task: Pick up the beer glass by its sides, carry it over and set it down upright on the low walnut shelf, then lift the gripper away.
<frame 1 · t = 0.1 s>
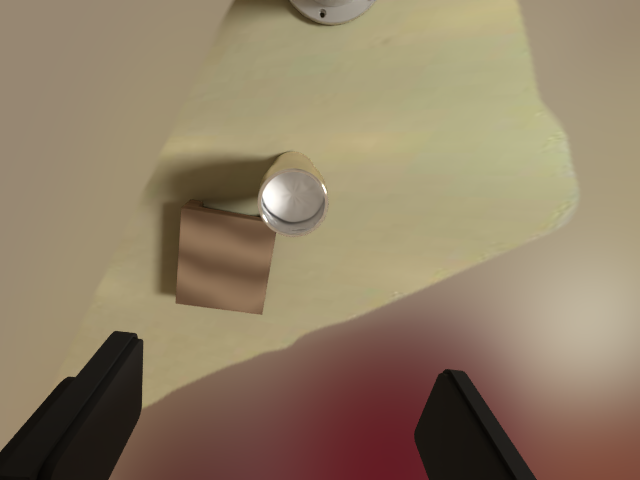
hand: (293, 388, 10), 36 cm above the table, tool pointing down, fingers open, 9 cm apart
walnut shelf: (230, 253, 47), on the table
beer glass: (293, 174, 44), on the table
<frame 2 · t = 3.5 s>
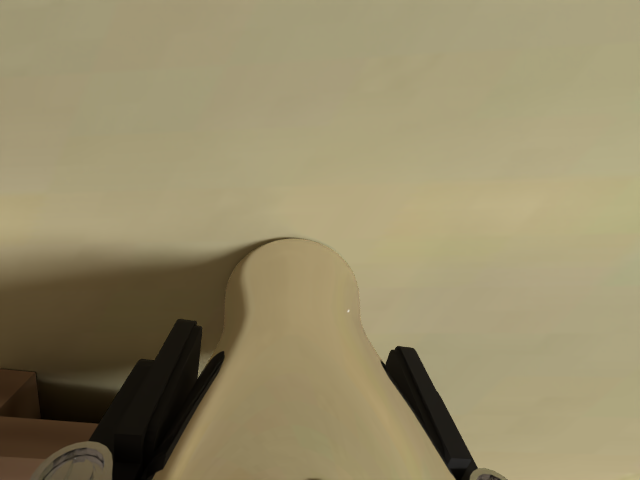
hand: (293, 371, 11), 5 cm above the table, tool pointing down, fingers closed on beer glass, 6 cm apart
walnut shelf: (131, 475, 19), on the table
beer glass: (293, 295, 15), on the table, touching gripper
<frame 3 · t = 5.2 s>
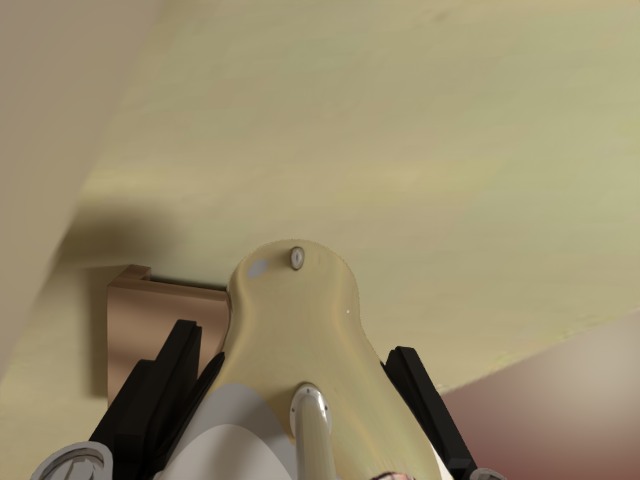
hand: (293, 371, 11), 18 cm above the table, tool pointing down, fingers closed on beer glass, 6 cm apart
walnut shelf: (195, 339, 31), on the table
beer glass: (293, 296, 15), point 14 cm above the table, touching gripper
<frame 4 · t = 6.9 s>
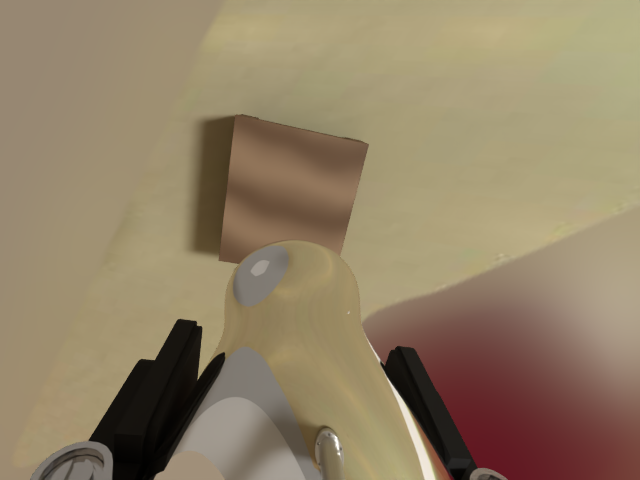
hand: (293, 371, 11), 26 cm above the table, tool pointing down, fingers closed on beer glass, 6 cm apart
walnut shelf: (290, 195, 35), on the table
beer glass: (293, 296, 15), point 21 cm above the table, touching gripper
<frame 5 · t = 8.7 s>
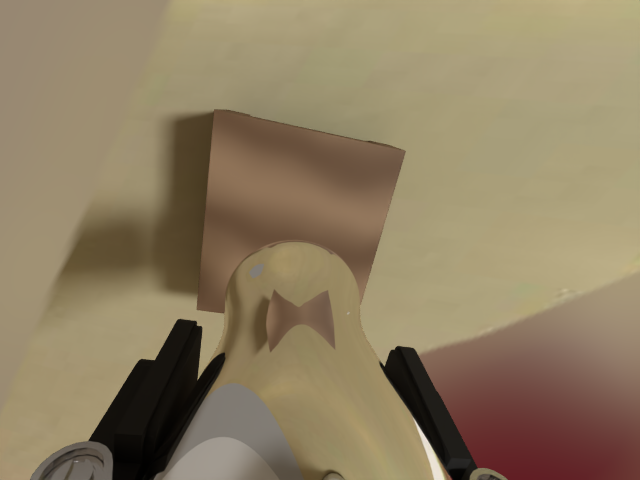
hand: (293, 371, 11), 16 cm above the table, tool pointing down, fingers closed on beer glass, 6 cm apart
walnut shelf: (293, 218, 26), on the table
beer glass: (293, 297, 15), point 12 cm above the table, touching gripper
when the fingers open (10 cm above the table, at t = 10.4 s): beer glass drops 1 cm, resting on walnut shelf.
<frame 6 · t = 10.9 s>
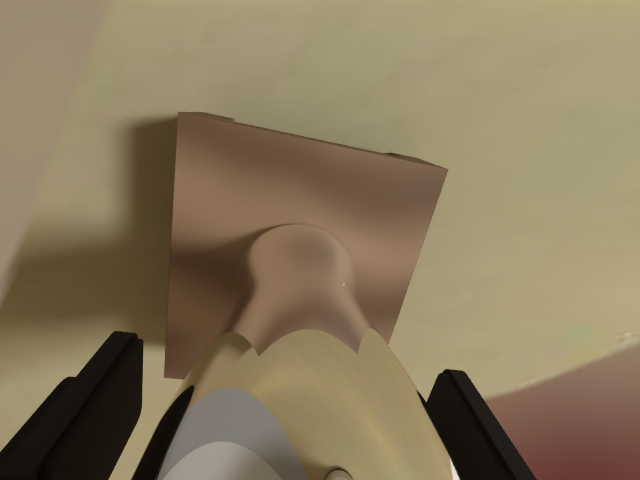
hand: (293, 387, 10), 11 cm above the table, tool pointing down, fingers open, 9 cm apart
walnut shelf: (293, 251, 20), on the table
beer glass: (295, 278, 17), point 4 cm above the table, touching walnut shelf
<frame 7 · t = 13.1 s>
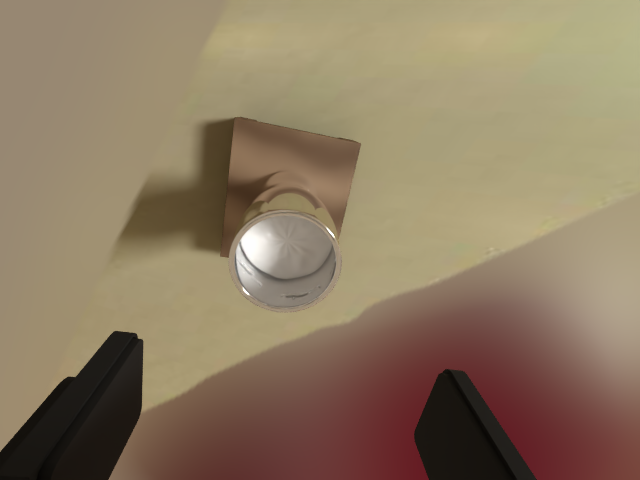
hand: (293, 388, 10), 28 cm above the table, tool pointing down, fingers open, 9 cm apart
walnut shelf: (287, 193, 37), on the table
beer glass: (288, 200, 33), point 4 cm above the table, touching walnut shelf
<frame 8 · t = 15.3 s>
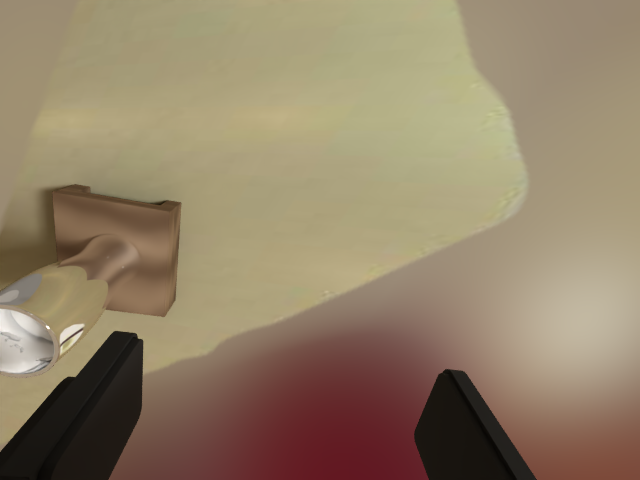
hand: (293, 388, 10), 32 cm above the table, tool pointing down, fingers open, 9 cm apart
walnut shelf: (129, 246, 42), on the table
beer glass: (114, 257, 38), point 4 cm above the table, touching walnut shelf
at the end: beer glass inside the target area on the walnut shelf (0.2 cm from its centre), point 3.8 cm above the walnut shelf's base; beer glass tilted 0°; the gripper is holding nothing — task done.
